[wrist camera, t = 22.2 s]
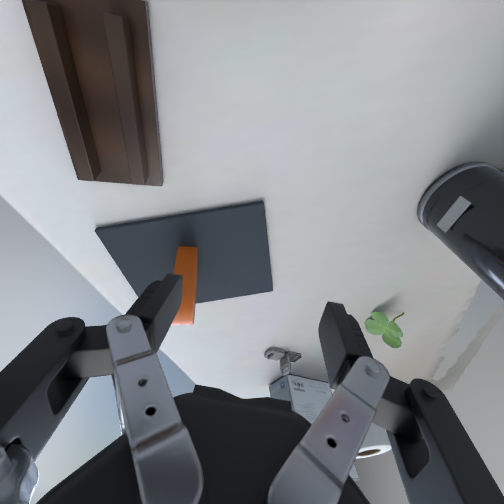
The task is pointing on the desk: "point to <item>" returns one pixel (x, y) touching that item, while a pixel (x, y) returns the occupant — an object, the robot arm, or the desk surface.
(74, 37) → the holder
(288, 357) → the strap clip
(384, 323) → the green clover
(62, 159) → the desk surface
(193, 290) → the orange curved block
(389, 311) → the desk surface
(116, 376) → the robot arm
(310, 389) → the hard drive box
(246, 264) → the felt mat
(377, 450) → the white paper roll
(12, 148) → the desk surface
